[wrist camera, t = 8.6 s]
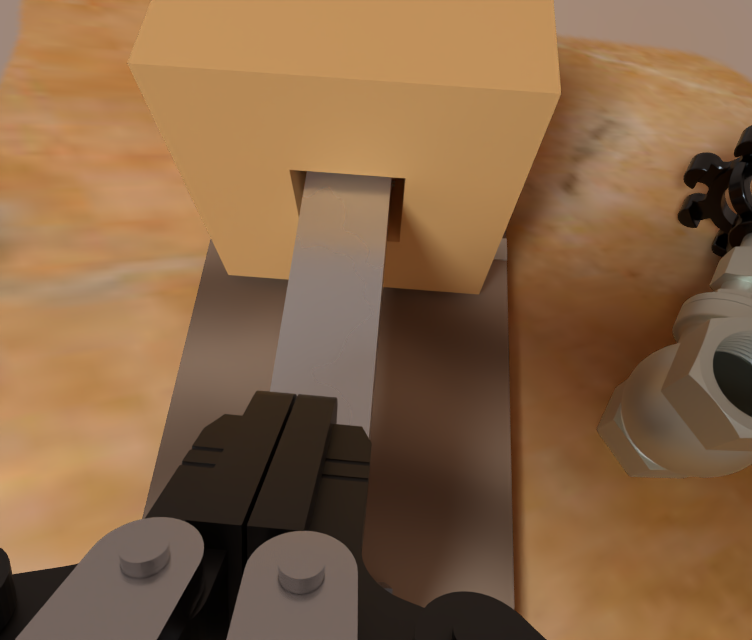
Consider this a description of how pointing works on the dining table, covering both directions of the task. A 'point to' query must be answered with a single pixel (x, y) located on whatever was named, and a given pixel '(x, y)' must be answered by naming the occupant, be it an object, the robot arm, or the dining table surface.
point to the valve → (698, 350)
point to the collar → (353, 119)
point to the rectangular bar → (336, 295)
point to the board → (384, 422)
